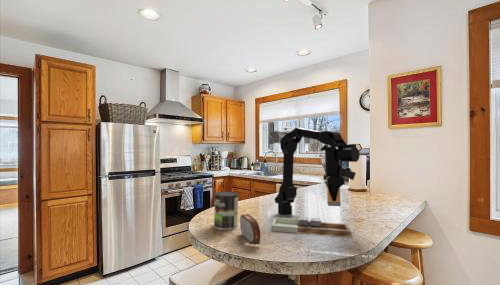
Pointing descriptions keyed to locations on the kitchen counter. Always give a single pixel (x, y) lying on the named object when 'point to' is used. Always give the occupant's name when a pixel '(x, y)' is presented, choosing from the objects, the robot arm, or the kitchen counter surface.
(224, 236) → the kitchen counter surface
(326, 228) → the channel board
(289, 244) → the kitchen counter surface
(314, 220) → the chip
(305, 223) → the chip
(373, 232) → the kitchen counter surface
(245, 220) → the grey and brown slab
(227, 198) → the coffee can
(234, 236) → the kitchen counter surface
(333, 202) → the rake block
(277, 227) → the tray
